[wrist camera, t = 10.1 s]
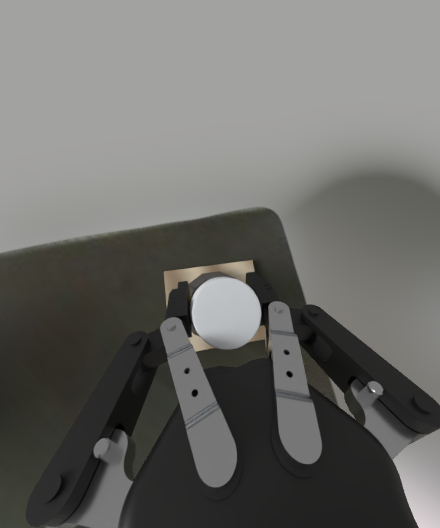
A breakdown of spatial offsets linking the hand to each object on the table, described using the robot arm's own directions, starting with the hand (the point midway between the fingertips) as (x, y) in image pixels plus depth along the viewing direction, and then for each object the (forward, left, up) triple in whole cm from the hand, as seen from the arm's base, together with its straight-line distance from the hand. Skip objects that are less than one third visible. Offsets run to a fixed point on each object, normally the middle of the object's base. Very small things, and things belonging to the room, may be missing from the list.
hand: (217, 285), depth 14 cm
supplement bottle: (0, -2, -4) cm, 5 cm away
